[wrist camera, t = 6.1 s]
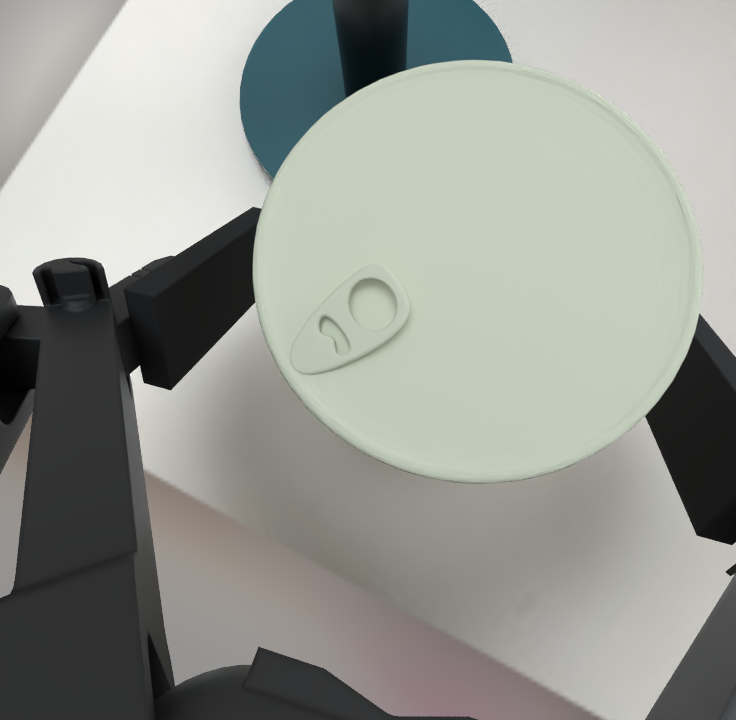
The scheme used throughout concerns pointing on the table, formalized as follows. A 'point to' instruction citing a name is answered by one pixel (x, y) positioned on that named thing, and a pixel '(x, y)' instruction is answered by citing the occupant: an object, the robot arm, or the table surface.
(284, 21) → the lid
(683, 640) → the table surface
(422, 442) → the can
